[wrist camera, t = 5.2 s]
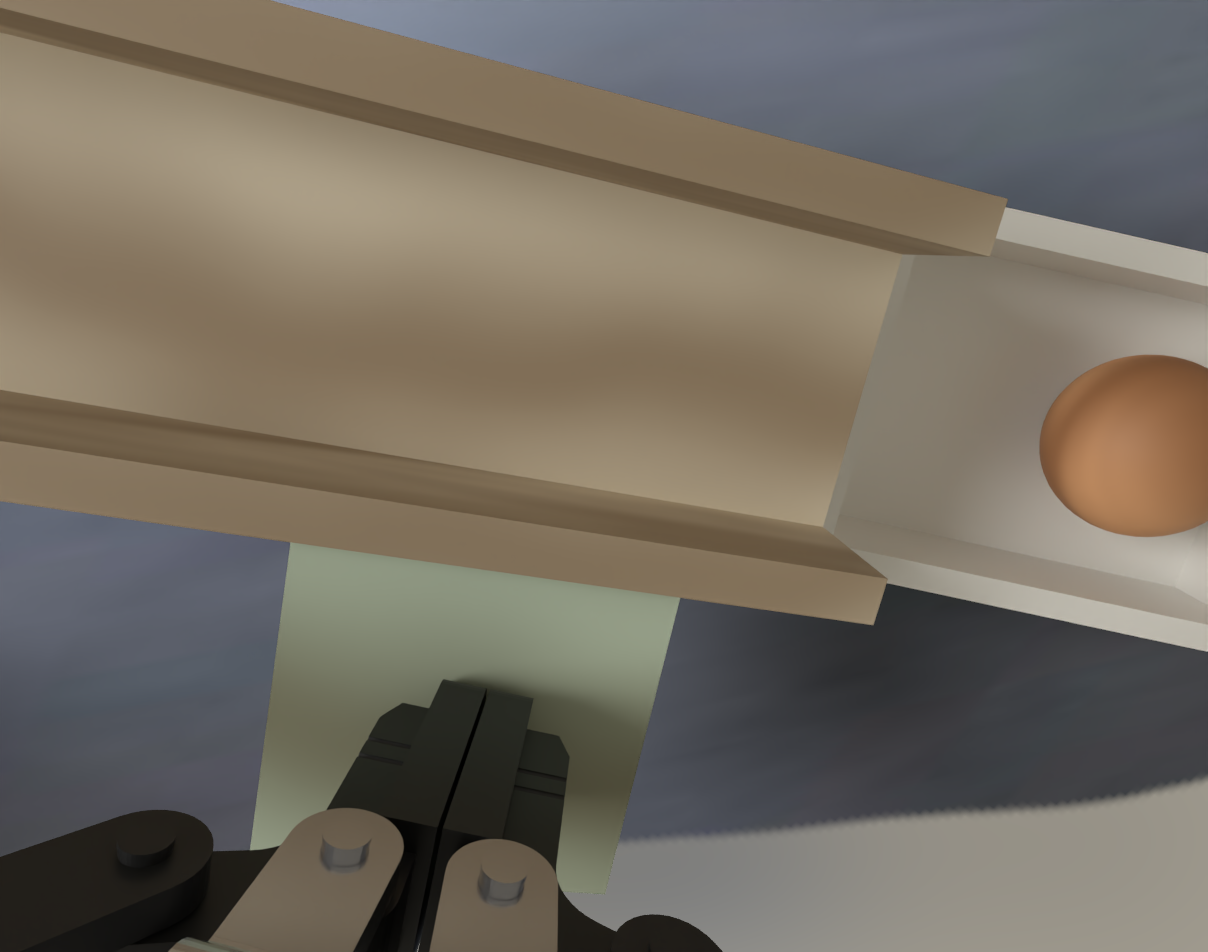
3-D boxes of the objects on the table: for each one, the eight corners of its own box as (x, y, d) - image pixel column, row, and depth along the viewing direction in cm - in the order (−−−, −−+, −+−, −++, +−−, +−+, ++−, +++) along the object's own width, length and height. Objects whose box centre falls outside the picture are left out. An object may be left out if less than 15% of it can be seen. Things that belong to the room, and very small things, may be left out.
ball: (1343, 388, 16) (1200, 366, 20) (1143, 344, 16) (1039, 331, 20) (1260, 580, 17) (1140, 523, 21) (1072, 539, 17) (986, 490, 21)
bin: (855, 200, 20) (904, 184, 16) (1299, 301, 20) (1440, 306, 16) (768, 518, 21) (796, 563, 18) (1175, 605, 22) (1279, 666, 18)
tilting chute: (-664, -168, 12) (-1550, -490, 7) (840, 213, 17) (1008, 198, 12) (-562, 623, 15) (-1124, 829, 10) (694, 751, 20) (775, 934, 15)
